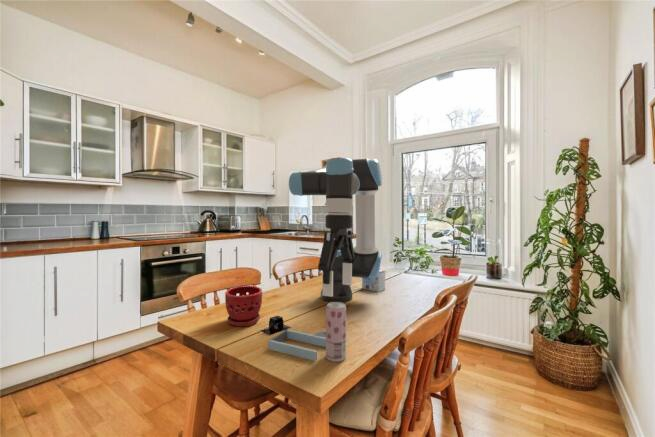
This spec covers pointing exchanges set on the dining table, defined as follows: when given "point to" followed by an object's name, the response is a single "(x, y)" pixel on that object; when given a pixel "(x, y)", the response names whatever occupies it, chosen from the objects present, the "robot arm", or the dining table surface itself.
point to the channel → (296, 350)
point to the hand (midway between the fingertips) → (338, 289)
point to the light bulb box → (375, 282)
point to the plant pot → (243, 305)
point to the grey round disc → (321, 334)
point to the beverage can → (336, 331)
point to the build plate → (273, 328)
